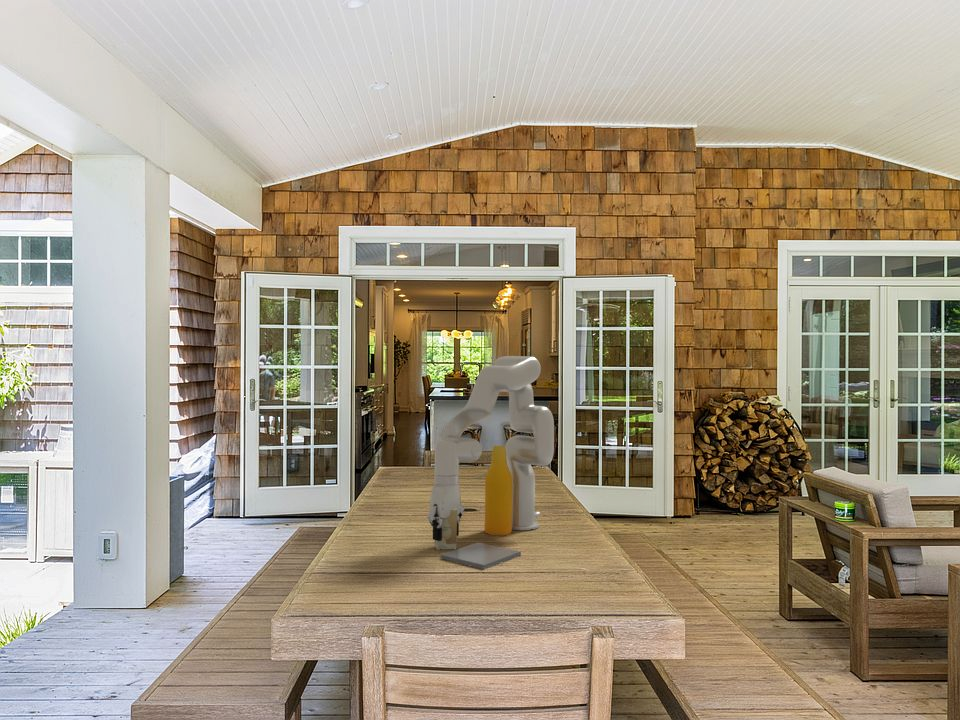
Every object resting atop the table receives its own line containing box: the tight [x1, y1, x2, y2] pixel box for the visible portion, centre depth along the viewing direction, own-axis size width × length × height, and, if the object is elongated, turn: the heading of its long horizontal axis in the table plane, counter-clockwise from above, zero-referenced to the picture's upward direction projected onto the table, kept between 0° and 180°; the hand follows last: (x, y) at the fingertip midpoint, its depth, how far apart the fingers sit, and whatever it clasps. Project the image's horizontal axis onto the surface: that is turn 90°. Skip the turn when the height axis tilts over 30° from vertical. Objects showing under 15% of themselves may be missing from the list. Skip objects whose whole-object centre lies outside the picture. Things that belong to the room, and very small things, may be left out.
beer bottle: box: [483, 445, 513, 536], centre depth 236 cm, size 9×9×29 cm
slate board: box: [439, 542, 522, 570], centre depth 207 cm, size 18×16×1 cm
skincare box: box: [434, 509, 458, 551], centre depth 217 cm, size 6×4×12 cm
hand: (445, 537), depth 217 cm, fingers closed on skincare box, 7 cm apart
